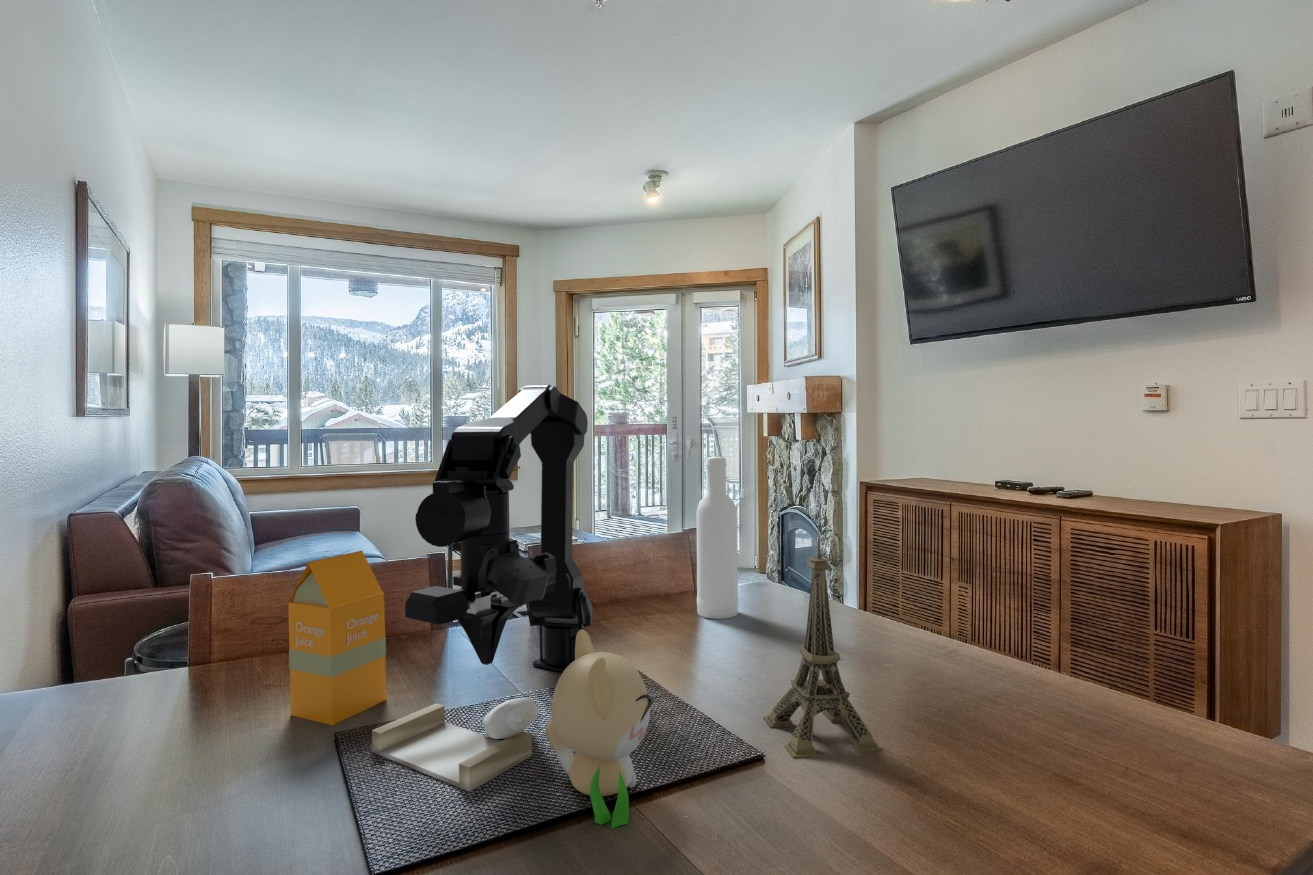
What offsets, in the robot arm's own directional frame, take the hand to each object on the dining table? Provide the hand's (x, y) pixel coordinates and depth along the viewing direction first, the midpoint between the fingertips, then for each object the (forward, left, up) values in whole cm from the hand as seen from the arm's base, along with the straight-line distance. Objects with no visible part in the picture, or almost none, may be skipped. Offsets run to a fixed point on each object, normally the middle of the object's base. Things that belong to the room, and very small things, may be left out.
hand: (486, 663), depth 84 cm
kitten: (+19, -2, -9) cm, 21 cm away
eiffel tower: (+33, +22, -9) cm, 40 cm away
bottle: (-2, +61, -9) cm, 61 cm away
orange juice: (-23, -4, -9) cm, 25 cm away
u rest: (0, -5, -9) cm, 10 cm away
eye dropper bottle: (+1, +2, -7) cm, 7 cm away
